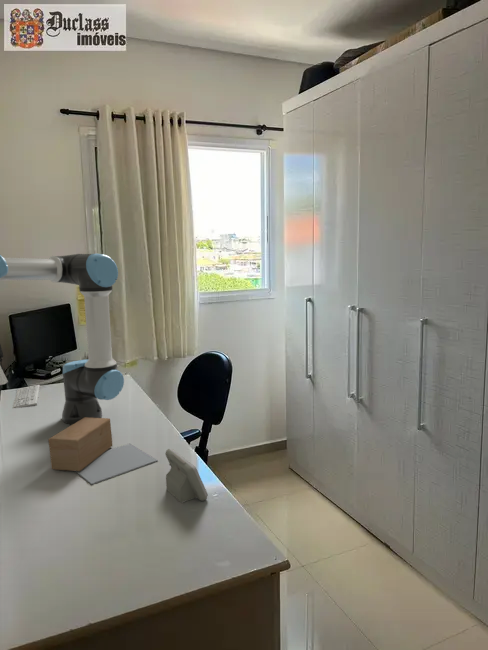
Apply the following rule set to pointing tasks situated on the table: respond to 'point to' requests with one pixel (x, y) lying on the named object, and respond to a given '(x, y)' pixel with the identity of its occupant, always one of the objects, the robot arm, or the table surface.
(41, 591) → the table surface
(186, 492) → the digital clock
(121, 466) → the grey mat
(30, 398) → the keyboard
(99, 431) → the wooden block
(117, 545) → the table surface
